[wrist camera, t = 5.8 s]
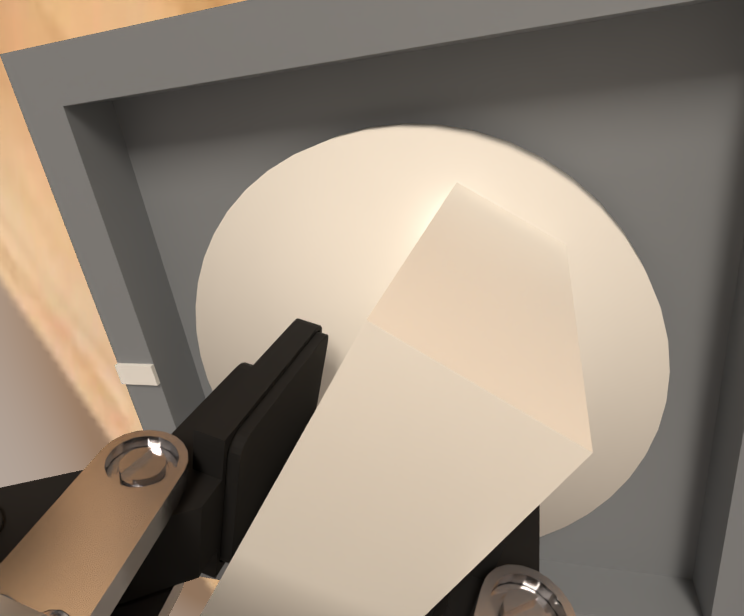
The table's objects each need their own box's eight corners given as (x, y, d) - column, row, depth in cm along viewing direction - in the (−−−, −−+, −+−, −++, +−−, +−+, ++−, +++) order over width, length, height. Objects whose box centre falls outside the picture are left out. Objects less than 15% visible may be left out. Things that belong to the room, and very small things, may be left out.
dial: (302, 21, 11) (-45, -23, 4) (789, 298, 10) (1181, 686, 4) (175, 390, 16) (-58, 605, 10) (487, 577, 16) (451, 923, 9)
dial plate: (827, -89, 9) (973, -161, 6) (717, 555, 16) (762, 682, 13) (114, 54, 14) (-7, 54, 11) (249, 499, 21) (196, 580, 18)
